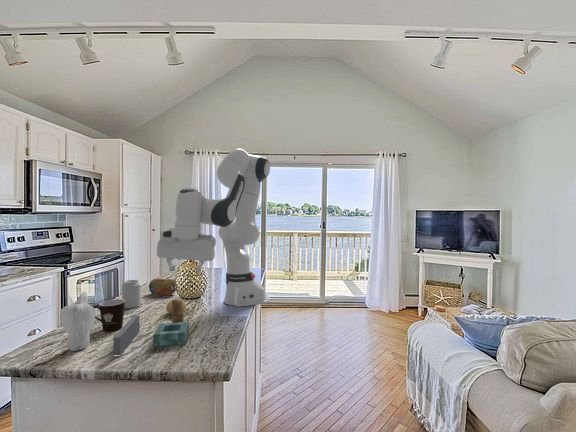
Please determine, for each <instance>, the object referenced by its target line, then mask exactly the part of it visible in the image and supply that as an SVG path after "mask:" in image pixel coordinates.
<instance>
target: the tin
mask: <svg viewBox="0 0 576 432" xmlns="http://www.w3.org/2000/svg"><path fill="white" fill-rule="evenodd" d="M175 283H176V281H175V280H173V278H172V279H171V278H154V279H152V280H150V282H149V285H148V289H149V292H150V293H151V294H152V295H153V296H154V295H155V296H171V295H173V294H175V292H176V290H177V287H176V288H175Z"/></svg>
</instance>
